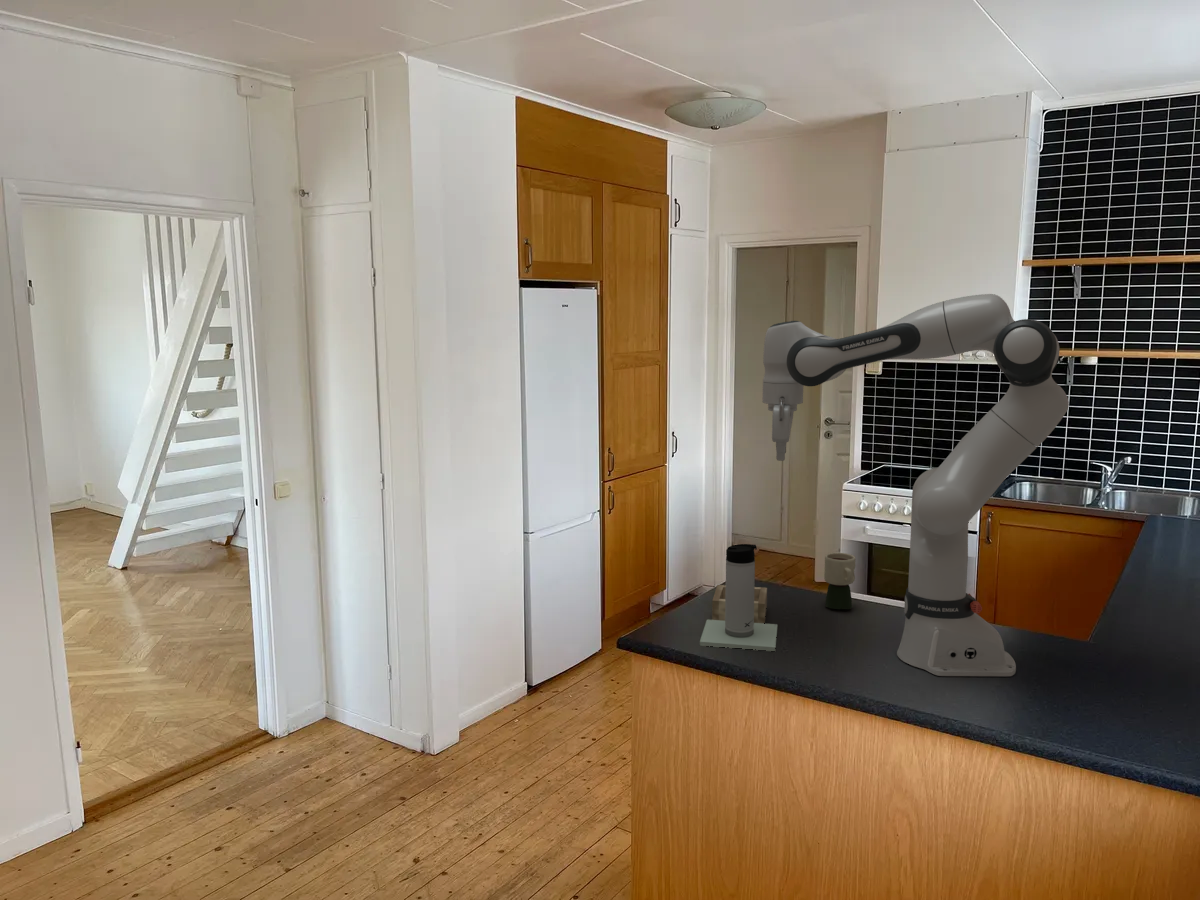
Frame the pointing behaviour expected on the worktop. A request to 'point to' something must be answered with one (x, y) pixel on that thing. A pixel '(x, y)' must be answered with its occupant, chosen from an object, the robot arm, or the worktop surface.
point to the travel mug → (740, 590)
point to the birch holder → (759, 604)
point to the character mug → (839, 579)
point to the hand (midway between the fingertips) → (781, 456)
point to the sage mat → (758, 640)
